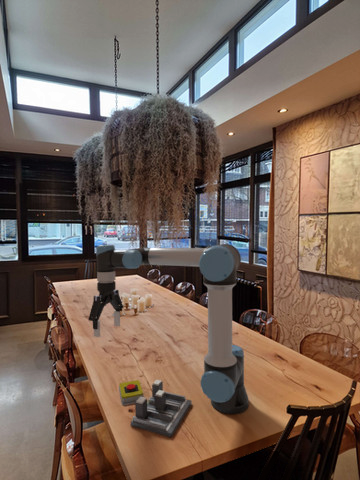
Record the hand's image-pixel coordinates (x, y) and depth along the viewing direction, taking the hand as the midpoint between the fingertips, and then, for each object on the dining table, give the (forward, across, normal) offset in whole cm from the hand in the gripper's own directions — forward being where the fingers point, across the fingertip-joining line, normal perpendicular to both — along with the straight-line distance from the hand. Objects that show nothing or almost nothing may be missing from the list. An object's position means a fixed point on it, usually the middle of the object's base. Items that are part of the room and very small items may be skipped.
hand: (107, 331), depth 122 cm
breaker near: (+26, +9, +22) cm, 35 cm away
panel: (+28, +3, +27) cm, 39 cm away
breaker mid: (+26, +3, +26) cm, 37 cm away
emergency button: (+29, -4, +8) cm, 30 cm away
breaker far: (+26, -4, +22) cm, 34 cm away
